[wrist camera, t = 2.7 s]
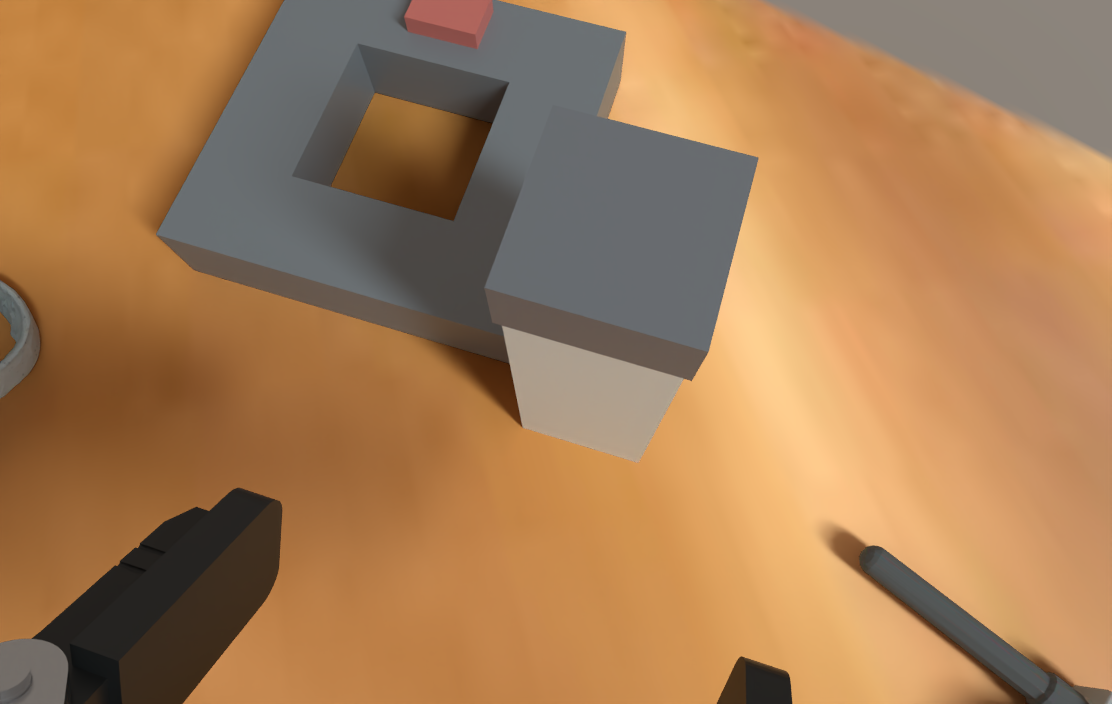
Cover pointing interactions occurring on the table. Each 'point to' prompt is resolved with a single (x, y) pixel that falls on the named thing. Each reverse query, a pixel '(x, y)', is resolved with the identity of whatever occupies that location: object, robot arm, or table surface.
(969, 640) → the walkie-talkie
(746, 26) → the table surface
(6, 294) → the ceramic mug
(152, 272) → the table surface
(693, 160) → the plug
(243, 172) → the socket
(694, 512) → the table surface
